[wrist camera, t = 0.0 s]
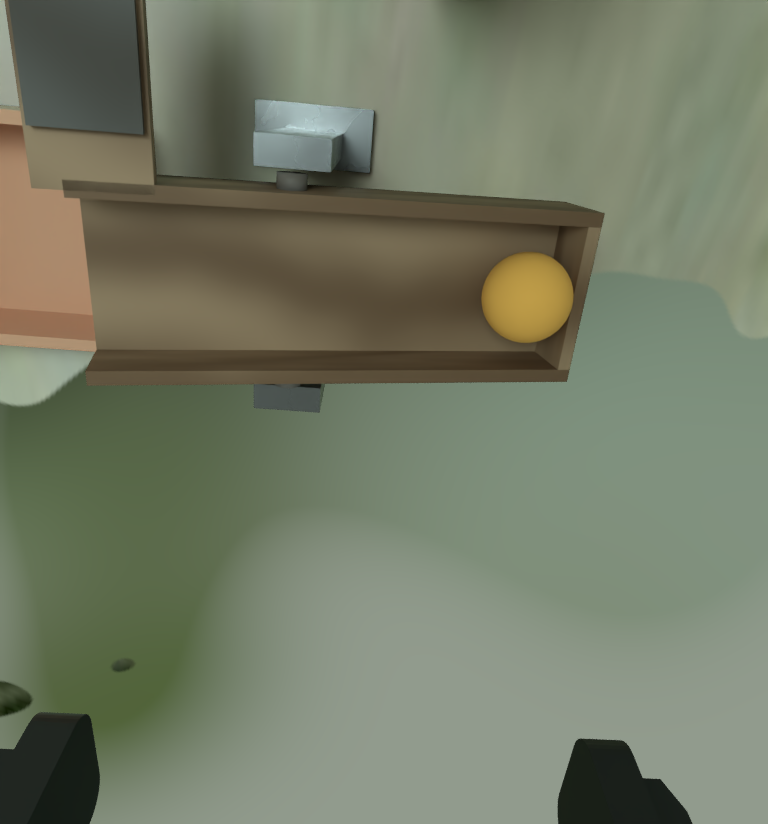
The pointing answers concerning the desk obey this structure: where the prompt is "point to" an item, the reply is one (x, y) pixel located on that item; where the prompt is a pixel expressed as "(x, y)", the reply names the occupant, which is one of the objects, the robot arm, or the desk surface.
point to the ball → (527, 297)
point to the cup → (39, 255)
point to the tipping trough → (266, 241)
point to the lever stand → (315, 151)
